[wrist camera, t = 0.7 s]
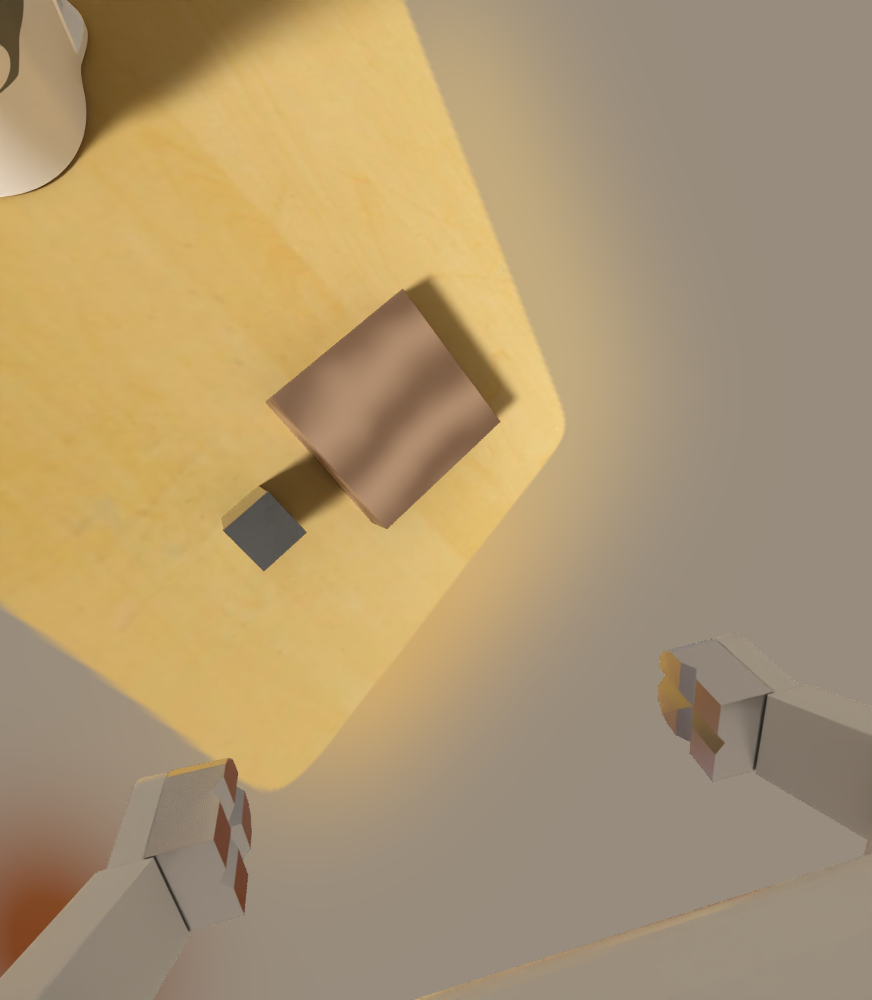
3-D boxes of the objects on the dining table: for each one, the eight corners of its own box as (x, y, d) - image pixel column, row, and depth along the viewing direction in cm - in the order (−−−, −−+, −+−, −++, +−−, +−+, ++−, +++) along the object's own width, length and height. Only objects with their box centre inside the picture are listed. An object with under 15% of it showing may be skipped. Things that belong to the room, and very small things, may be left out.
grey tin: (220, 518, 48) (223, 530, 40) (258, 485, 49) (268, 491, 41) (255, 553, 49) (263, 571, 42) (291, 520, 50) (306, 532, 42)
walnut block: (264, 402, 49) (271, 397, 44) (385, 303, 52) (402, 288, 47) (371, 522, 53) (387, 529, 48) (475, 423, 56) (500, 421, 51)
